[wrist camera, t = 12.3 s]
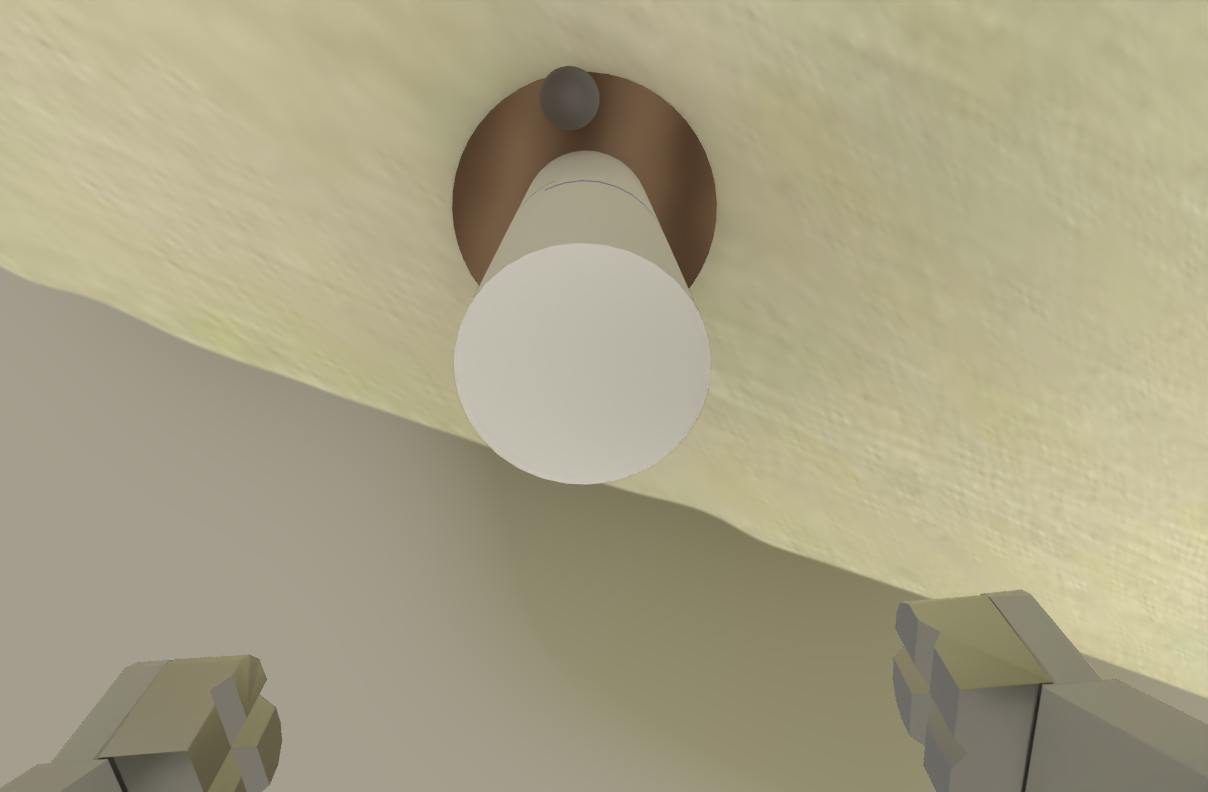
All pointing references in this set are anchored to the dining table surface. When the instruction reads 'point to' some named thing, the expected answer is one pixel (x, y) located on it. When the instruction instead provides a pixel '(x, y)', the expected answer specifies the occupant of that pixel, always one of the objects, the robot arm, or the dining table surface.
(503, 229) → the roll holder
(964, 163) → the dining table surface
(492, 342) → the cylindrical container
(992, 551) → the dining table surface
